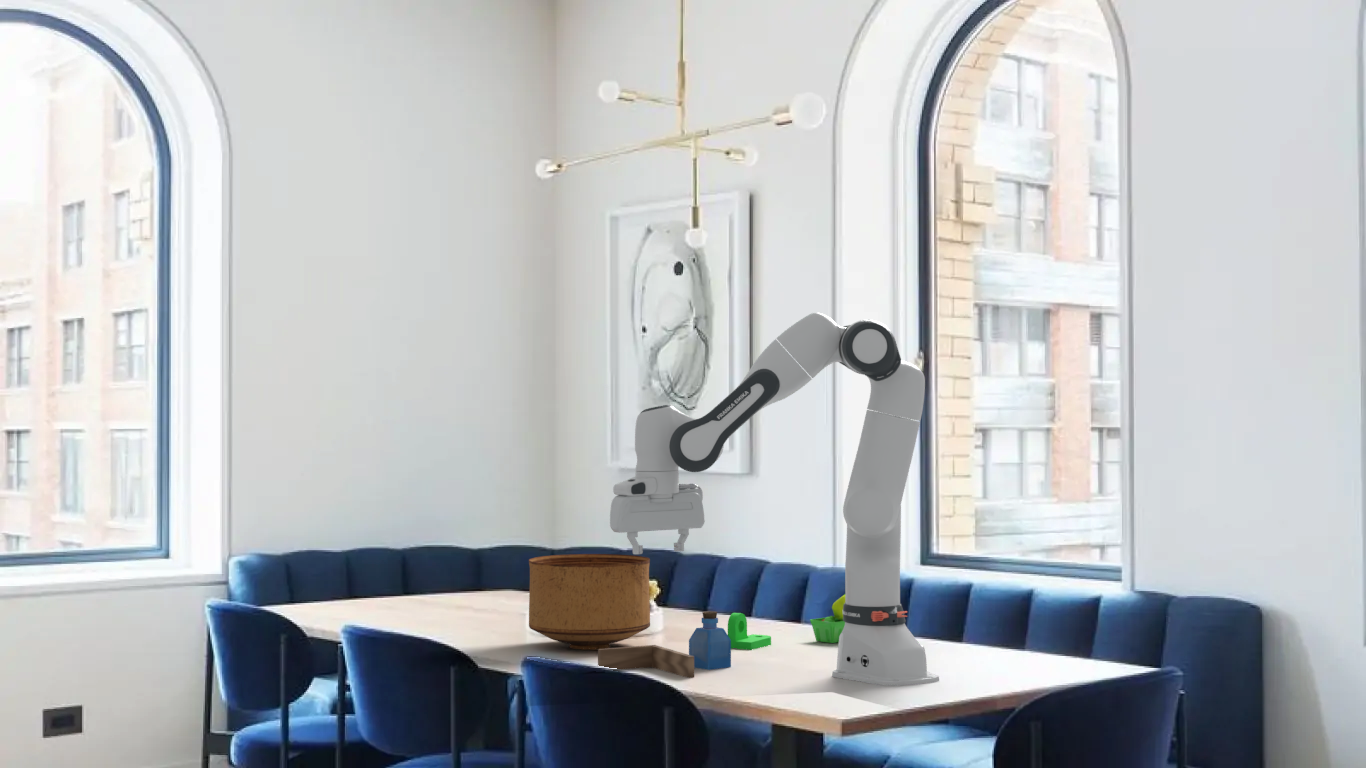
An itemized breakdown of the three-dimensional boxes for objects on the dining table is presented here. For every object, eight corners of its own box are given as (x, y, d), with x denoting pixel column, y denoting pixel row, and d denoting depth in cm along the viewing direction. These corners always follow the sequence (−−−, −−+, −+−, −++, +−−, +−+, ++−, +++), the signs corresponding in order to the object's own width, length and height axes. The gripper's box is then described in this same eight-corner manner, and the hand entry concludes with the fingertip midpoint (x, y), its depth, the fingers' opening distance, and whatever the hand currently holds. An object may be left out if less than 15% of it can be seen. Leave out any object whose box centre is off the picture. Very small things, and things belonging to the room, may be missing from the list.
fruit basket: (839, 636, 399) (839, 589, 399) (868, 640, 392) (868, 592, 392) (808, 641, 391) (808, 592, 391) (837, 645, 384) (837, 596, 384)
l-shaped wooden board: (694, 681, 334) (694, 656, 334) (635, 686, 328) (635, 660, 328) (654, 668, 350) (654, 644, 350) (598, 673, 344) (597, 649, 344)
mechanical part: (751, 651, 376) (750, 615, 376) (727, 649, 379) (727, 614, 379) (775, 644, 386) (775, 609, 387) (752, 642, 390) (752, 608, 390)
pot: (518, 641, 391) (518, 555, 391) (633, 636, 398) (633, 552, 399) (541, 658, 364) (541, 566, 365) (664, 653, 372) (664, 563, 372)
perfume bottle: (730, 670, 349) (730, 612, 349) (708, 673, 345) (708, 614, 345) (711, 666, 353) (711, 609, 353) (689, 669, 349) (688, 612, 349)
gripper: (694, 482, 349) (696, 548, 349) (605, 486, 340) (607, 554, 340) (709, 483, 344) (710, 550, 343) (619, 487, 334) (620, 556, 334)
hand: (658, 552), depth 341 cm, fingers open, 8 cm apart
